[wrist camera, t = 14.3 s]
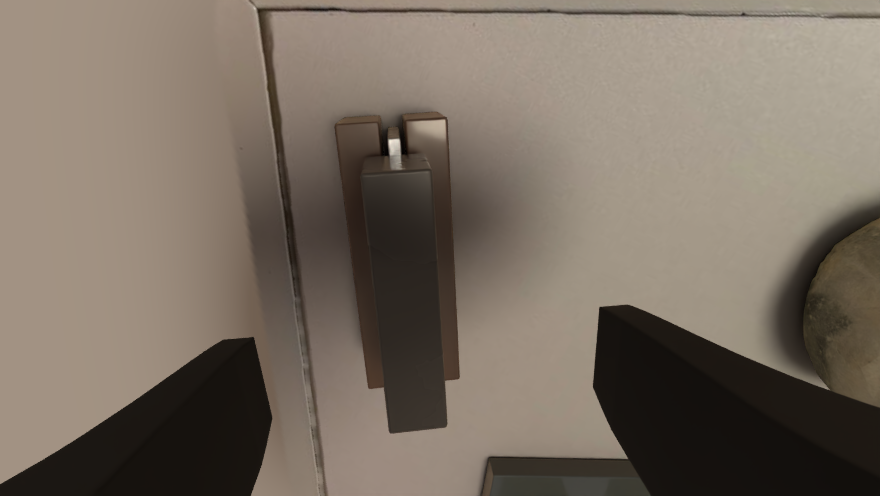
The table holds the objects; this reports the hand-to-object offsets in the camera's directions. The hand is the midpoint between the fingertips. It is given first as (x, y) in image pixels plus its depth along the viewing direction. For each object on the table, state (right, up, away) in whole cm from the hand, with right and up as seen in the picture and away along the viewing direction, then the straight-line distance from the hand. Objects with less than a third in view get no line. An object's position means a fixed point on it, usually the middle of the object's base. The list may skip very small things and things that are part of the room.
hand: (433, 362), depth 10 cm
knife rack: (-1, +3, +9) cm, 10 cm away
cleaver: (-1, +3, +9) cm, 10 cm away
